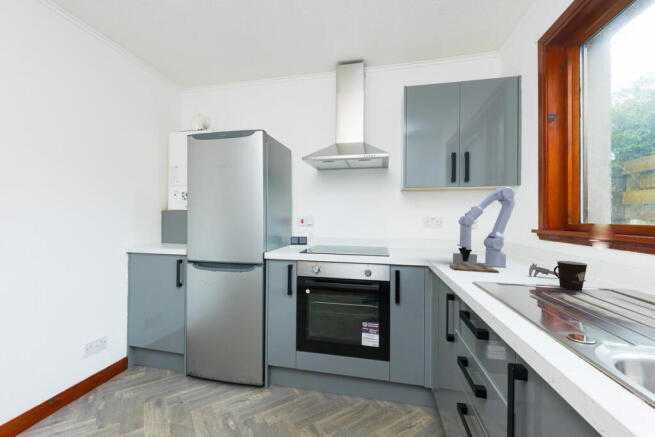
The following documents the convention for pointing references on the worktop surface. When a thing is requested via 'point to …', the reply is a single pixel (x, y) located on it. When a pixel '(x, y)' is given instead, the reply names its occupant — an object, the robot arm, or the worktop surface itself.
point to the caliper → (541, 270)
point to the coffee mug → (571, 274)
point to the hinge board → (474, 267)
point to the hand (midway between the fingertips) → (464, 261)
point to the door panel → (458, 258)
